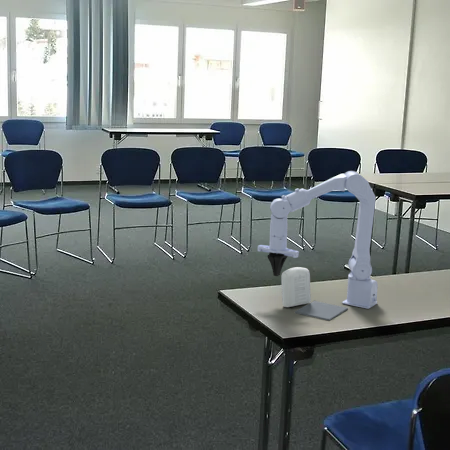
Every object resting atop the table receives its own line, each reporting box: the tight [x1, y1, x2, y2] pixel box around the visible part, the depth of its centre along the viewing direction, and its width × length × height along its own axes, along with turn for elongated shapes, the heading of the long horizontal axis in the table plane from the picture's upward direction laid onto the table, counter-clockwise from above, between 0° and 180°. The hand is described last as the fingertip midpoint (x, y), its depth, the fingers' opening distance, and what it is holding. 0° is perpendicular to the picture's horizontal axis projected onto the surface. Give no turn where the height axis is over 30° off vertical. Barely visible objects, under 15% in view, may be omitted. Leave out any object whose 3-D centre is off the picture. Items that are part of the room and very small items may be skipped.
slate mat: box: [294, 300, 349, 322], centre depth 217 cm, size 12×14×1 cm
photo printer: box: [280, 266, 312, 308], centre depth 221 cm, size 10×4×12 cm, turn 124°
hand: (276, 275), depth 225 cm, fingers closed
